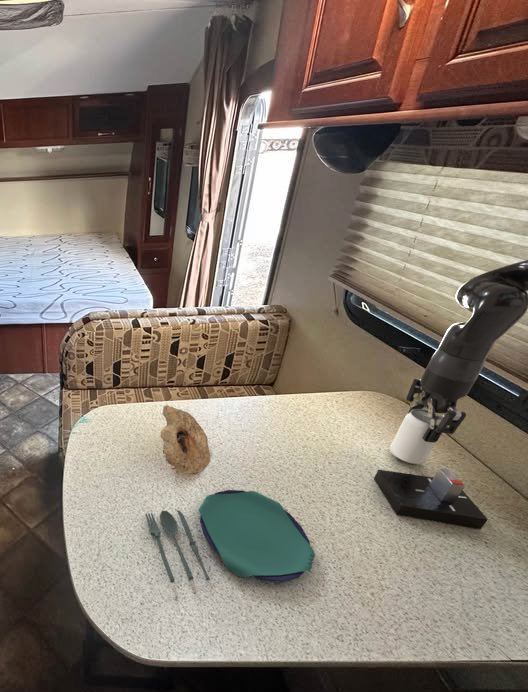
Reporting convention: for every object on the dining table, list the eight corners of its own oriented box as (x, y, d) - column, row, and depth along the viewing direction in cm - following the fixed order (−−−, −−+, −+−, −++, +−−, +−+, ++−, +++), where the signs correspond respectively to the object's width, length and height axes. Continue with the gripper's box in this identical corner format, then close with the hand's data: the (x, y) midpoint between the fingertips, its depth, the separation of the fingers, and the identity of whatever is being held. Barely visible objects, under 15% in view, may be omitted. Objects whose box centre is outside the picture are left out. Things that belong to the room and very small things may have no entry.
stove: (448, 489, 82) (454, 479, 81) (480, 529, 74) (488, 519, 72) (373, 478, 86) (378, 468, 84) (396, 515, 77) (402, 504, 76)
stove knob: (428, 485, 80) (439, 467, 78) (440, 486, 79) (451, 469, 77) (441, 501, 76) (453, 483, 74) (453, 503, 76) (465, 485, 73)
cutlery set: (335, 582, 66) (339, 575, 65) (170, 597, 65) (171, 589, 64) (269, 492, 84) (272, 485, 83) (139, 502, 83) (140, 495, 82)
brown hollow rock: (206, 487, 93) (223, 477, 87) (152, 478, 92) (164, 466, 86) (195, 424, 105) (208, 410, 99) (146, 415, 104) (157, 401, 98)
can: (421, 451, 91) (442, 412, 86) (426, 468, 86) (450, 429, 81) (387, 442, 94) (406, 404, 89) (391, 458, 90) (411, 419, 84)
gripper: (500, 391, 72) (460, 455, 80) (451, 356, 84) (420, 414, 92) (452, 387, 74) (417, 449, 82) (411, 353, 86) (384, 410, 94)
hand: (419, 430), depth 87 cm, fingers closed on can, 6 cm apart
